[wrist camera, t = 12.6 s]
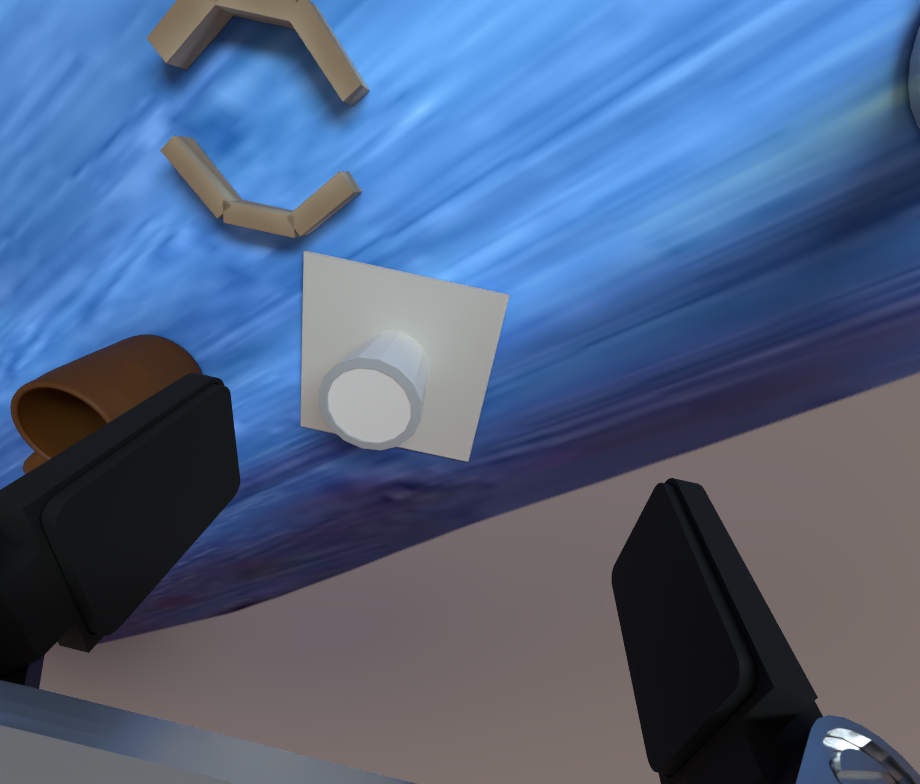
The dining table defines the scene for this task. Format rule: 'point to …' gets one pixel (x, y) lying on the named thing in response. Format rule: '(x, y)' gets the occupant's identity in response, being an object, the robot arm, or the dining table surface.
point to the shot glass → (376, 392)
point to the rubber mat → (416, 315)
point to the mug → (94, 392)
